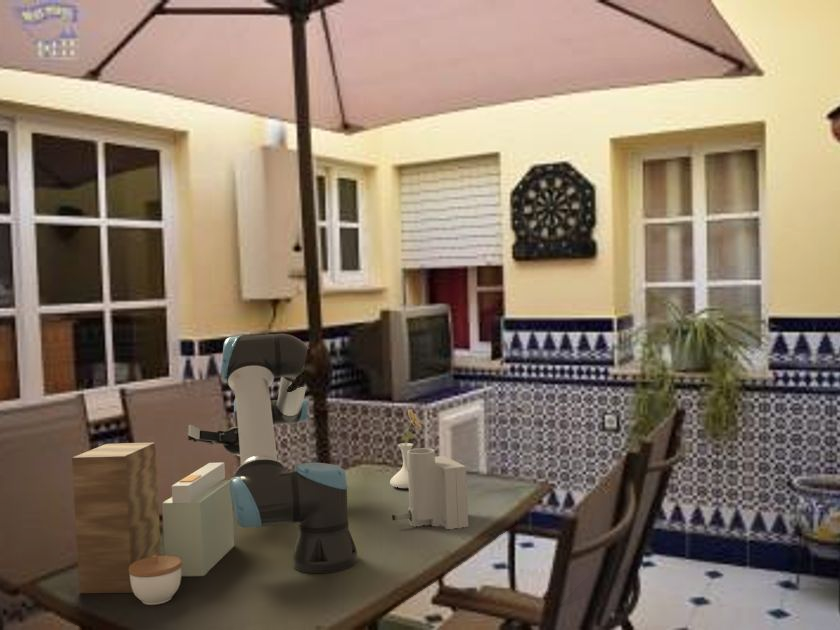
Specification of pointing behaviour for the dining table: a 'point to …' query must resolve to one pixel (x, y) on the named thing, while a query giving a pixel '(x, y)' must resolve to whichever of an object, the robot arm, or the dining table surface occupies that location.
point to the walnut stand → (115, 514)
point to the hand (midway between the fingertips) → (214, 428)
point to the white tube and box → (435, 490)
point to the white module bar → (198, 482)
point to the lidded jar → (155, 578)
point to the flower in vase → (405, 454)
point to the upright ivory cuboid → (199, 529)
